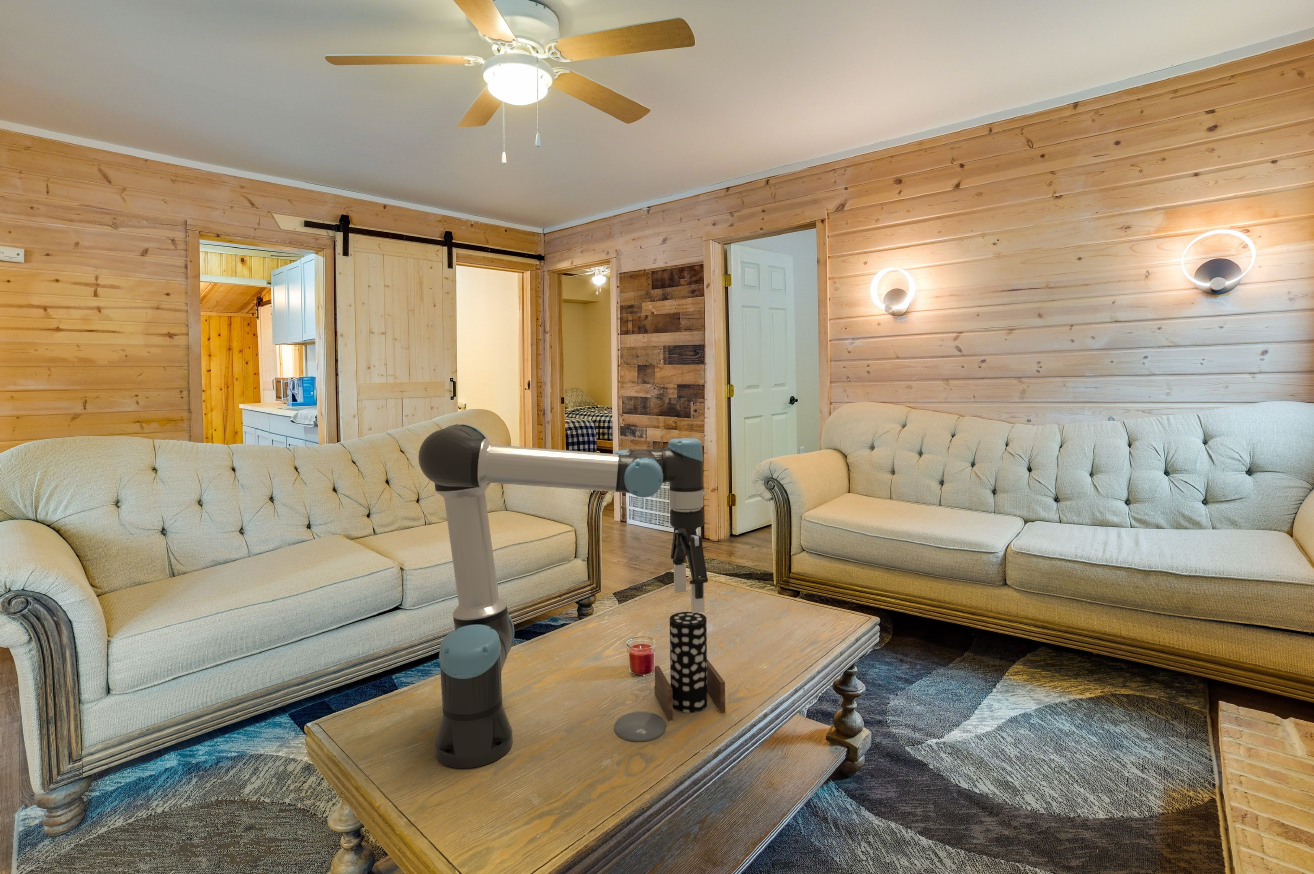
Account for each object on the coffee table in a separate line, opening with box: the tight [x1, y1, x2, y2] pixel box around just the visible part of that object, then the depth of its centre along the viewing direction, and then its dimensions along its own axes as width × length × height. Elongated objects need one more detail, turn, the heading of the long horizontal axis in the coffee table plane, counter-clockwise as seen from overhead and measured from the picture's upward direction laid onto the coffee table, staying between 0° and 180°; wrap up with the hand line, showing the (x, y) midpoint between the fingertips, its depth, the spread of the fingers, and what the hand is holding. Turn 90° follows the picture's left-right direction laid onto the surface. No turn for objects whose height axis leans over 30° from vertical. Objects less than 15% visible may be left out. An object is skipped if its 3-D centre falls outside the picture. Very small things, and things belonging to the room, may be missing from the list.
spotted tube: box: [669, 611, 708, 713], centre depth 149 cm, size 8×8×20 cm
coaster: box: [613, 711, 667, 743], centre depth 140 cm, size 11×11×1 cm
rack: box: [653, 658, 726, 722], centre depth 150 cm, size 13×12×7 cm
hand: (688, 601), depth 147 cm, fingers open, 13 cm apart
